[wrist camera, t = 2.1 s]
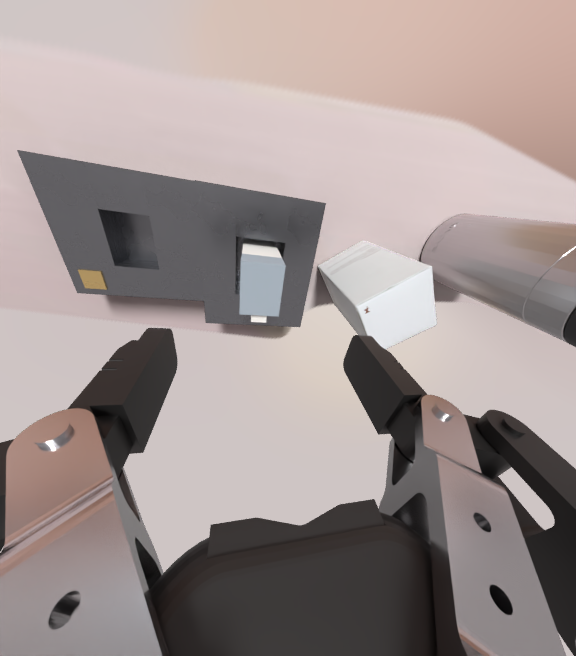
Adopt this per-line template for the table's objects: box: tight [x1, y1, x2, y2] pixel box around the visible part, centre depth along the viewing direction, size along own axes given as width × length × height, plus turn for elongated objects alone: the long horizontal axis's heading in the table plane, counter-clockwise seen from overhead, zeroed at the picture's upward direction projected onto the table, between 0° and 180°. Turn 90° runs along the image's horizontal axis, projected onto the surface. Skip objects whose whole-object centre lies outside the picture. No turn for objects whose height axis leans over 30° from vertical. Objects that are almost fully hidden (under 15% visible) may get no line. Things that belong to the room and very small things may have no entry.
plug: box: [239, 239, 286, 323], centre depth 18 cm, size 3×5×8 cm, turn 171°
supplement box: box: [318, 240, 437, 350], centre depth 25 cm, size 7×7×13 cm
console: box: [17, 150, 326, 327], centre depth 21 cm, size 24×12×9 cm, turn 82°
